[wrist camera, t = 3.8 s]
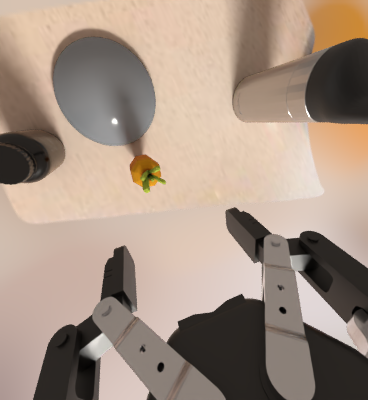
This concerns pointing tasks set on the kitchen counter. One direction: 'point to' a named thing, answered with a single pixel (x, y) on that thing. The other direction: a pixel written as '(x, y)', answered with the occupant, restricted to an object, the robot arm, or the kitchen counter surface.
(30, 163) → the supplement bottle
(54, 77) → the slate plate
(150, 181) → the carrot
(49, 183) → the kitchen counter surface
